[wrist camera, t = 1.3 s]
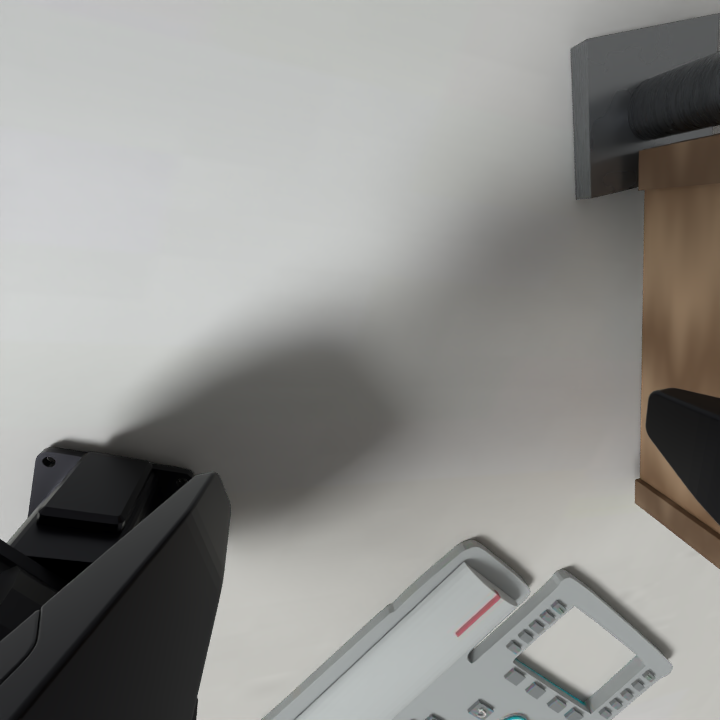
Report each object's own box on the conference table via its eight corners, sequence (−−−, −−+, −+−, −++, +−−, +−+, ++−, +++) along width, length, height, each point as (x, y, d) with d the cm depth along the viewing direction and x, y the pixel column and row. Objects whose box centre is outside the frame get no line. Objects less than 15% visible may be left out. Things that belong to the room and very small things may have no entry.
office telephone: (253, 760, 24) (506, 524, 22) (256, 711, 27) (484, 494, 25) (496, 860, 32) (700, 690, 30) (480, 814, 34) (669, 655, 32)
